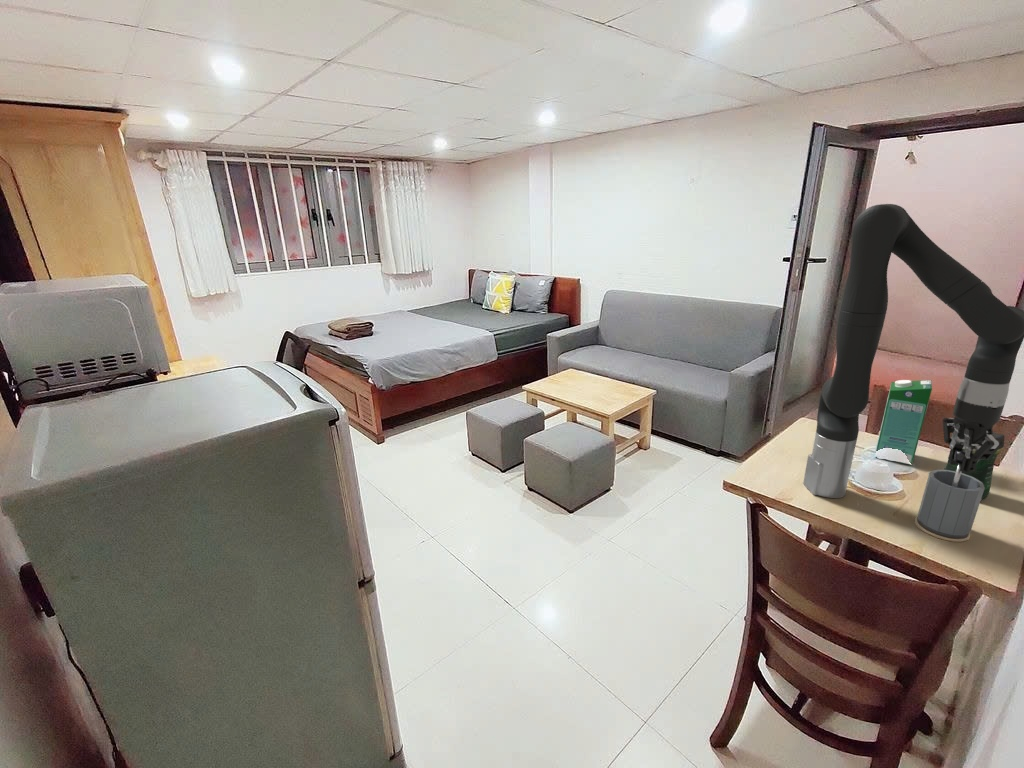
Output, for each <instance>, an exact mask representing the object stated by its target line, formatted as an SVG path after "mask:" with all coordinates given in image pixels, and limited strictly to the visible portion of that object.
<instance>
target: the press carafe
mask: <svg viewBox="0 0 1024 768" xmlns="http://www.w3.org/2000/svg"><path fill="white" fill-rule="evenodd" d="M955 473H956V472H955V471H950V470H944V469H934V470H932V471H929V473H928V476H927V481H926V484H925V487H924V491H923V495H922V499H921V501H920V505H919V509H918V513H917V516H916V517H915V518H914V524H915V526H916V527H917V528H918V529H919V530H920V531H922V532H923V533H926V534H927V535H929V536H931V537H933V538H936V539H939V540H943V541H946V542H952V543H953V542H954V543H964V542H967V541H969V540H970V538H971V531H972V528H973V526H974V522H975V519H976V515H977V514H978V510H979V507H980V504H981V501H982V499H981V498H982V495H983V492H984V489H985V487H984V485H983V483H982V482H980V481H979V480H977V479H976V478H974V477H972V476H969V475H966V474H963V473H961V475H960V478H959V482H958V485H957V487H952V483H953V480H954V476H955Z"/></svg>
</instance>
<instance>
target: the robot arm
mask: <svg viewBox="0 0 1024 768" xmlns="http://www.w3.org/2000/svg"><path fill="white" fill-rule="evenodd" d="M850 248H851V250H850V261H849V268H848V272H847V273H848V274H847V278H846V281H845V285H844V289H843V293H842V297H841V298H842V299H841V303H840V306H839V311H838V316H837V322H836V331H835V333H836V334H835V338H836V339H835V347H836V348H835V349H836V350H835V351H836V352H835V353H836V363H835V367H834V368H835V369H834V372H833V376H831V377H830V378H828V379H827V380H826V381H825V382H824V384H823V385H822V388H821V390H820V391H821V392H820V397H819V401H818V402H819V403H818V409H817V410H818V411H817V416H816V418H817V419H816V428H815V429H816V430H815V435H814V441H813V447H812V452H811V453H810V454H808V456H807V460H806V466H805V472H804V477H803V482H802V483H803V485H804V486H805V488H806V489H808V491H809V492H810V493H811V494H812V495H813V496H820V497H824V498H827V499H840V498H843V497H845V495H846V494H847V493H846V491H847V488H848V483H849V478H850V474H851V468H852V464H853V460H854V455H855V450H856V445H857V440H858V436H859V431H860V428H859V425H860V424H859V418H860V416H859V415H860V414H861V413H862V412H863V411H864V410H865V409H866V407H867V405H868V404H869V399H870V398H869V397H870V383H871V374H872V367H873V363H874V360H875V356H876V353H877V350H878V346H879V343H880V339H881V336H882V331H883V328H884V324H885V319H886V314H887V312H888V305H889V288H888V287H889V286H888V268H889V264H890V260H891V256H892V254H893V255H895V256H896V257H897V258H899V259H900V260H901V261H902V262H904V263H905V264H906V265H907V266H908V268H909V269H911V270H912V272H913V273H914V274H915V275H916V276H917V278H918V279H919V280H920V282H921V283H922V284H923V285H924V286H925V288H927V290H929V291H930V292H931V293H932V295H934V296H935V297H937V298H938V299H939V300H940V301H942V302H943V303H944V304H945V305H947V306H948V307H949V308H950V309H951V310H953V312H955V313H956V314H957V315H958V316H959V318H961V320H962V321H963V322H964V323H965V324H966V325H967V327H968V328H969V329H970V330H971V331H972V332H973V333H974V334H975V335H977V340H976V344H975V348H974V351H973V353H972V354H971V356H970V357H969V360H968V363H967V366H966V370H965V373H964V376H963V379H962V381H961V383H960V386H959V387H958V392H957V395H956V399H955V402H954V407H953V410H952V415H953V416H954V417H943V418H942V428H943V429H942V430H943V442H944V443H945V444H948V445H949V449H950V450H949V454H948V457H947V458H948V459H947V462H948V463H949V464H951V465H958V463H957V462H955V461H954V460H953V458H954V454H955V451H956V449H965V448H966V452H965V457H964V458H963V462H962V465H961V468H960V471H962V472H963V473H972V472H974V470H975V468H976V464H977V461H978V460H989V459H990V458H991V457H992V456H993V455H994V454H995V453H996V451H997V450H998V449H999V448H1000V447H1001V446H1002V445H1003V442H1002V441H997V440H996V439H995V438H994V437H993V436H992V435H993V432H994V431H993V427H994V426H995V425H996V424H998V423H999V422H1000V420H1001V417H1002V413H1003V410H1004V408H1005V404H1006V401H1007V398H1008V395H1009V391H1010V390H1009V389H1010V384H1011V380H1012V377H1013V375H1014V374H1013V373H1014V370H1015V366H1016V361H1017V356H1018V353H1019V351H1020V348H1021V347H1022V344H1023V343H1024V310H1023V309H1021V308H1020V307H1017V306H1014V305H1007V304H1005V303H1004V301H1002V300H1001V299H1000V298H998V297H997V296H995V295H994V294H993V291H992V289H991V287H990V286H989V285H987V283H986V282H985V281H983V280H982V279H981V278H980V277H978V276H977V275H975V273H973V272H972V271H970V269H969V268H967V267H965V266H964V265H963V264H961V262H958V260H956V259H955V258H954V257H952V256H951V255H950V254H949V253H947V252H945V251H944V250H943V249H942V248H941V247H939V245H937V244H936V243H935V242H934V241H933V240H932V238H931V239H930V237H929V236H928V235H926V233H925V232H924V231H923V230H922V229H921V227H920V226H919V225H918V224H917V223H916V222H915V220H914V219H913V218H912V217H911V215H909V213H908V211H907V210H906V209H905V208H904V207H903V206H901V205H898V204H893V203H880V204H876V205H872V206H869V207H867V208H866V209H864V210H863V211H862V212H861V213H859V215H858V216H857V218H856V219H855V221H854V223H853V227H852V233H851V247H850ZM951 433H952V434H951ZM971 443H978V444H971ZM973 449H975V453H972V452H973Z"/></svg>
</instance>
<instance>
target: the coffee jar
mask: <svg viewBox="0 0 1024 768" xmlns="http://www.w3.org/2000/svg"><path fill="white" fill-rule="evenodd" d="M992 436H993V437H994V438H995V439H996V440H997V441H1002V442H1003V445H1002V446H1001V447H1000V448H999V449H998V450H997V451H996V453H995V454H994V455H993V456H992V457H991V458H990V459H989V460H978V461H977V464H976V468H975V470H974V472H972V473H963V472H961V473H963V474H966V475H969V476H972V477H974V478H976V479H977V480H979V481H980V482H982V483H983V485H984V487H985V489H984V492H983V495H982V498H981V500H983V499H986V498H987V497H988V496H989V495H990V490H991V485H992V478H993V473H994V467H995V463H996V459H997V457H998V455H999V454H1001V452H1003V450H1004V447H1005V434H1002V433H999V432H994V431H993V435H992ZM971 444H978V443H971ZM964 450H966V448H965V449H964ZM973 453H975V449H973ZM957 466H958V465H951V464H949V463H948V461H947V463H946V464H945V467H944V469H943V470H950V471H955V472H956V470H957Z"/></svg>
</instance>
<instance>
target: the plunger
mask: <svg viewBox="0 0 1024 768" xmlns="http://www.w3.org/2000/svg"><path fill="white" fill-rule="evenodd" d="M965 452H966V450H964V449H956V451H955V454H954V458H953V460H954V461H955V462H957V463H958V466H957V470H956V473H955V476H954V480H953V483H952V487H957V485H958V482H959V478H960V475H961V472H962V471H960V468H961V465H962V462H963V458H964V457H965ZM972 453H973V452H972Z"/></svg>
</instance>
